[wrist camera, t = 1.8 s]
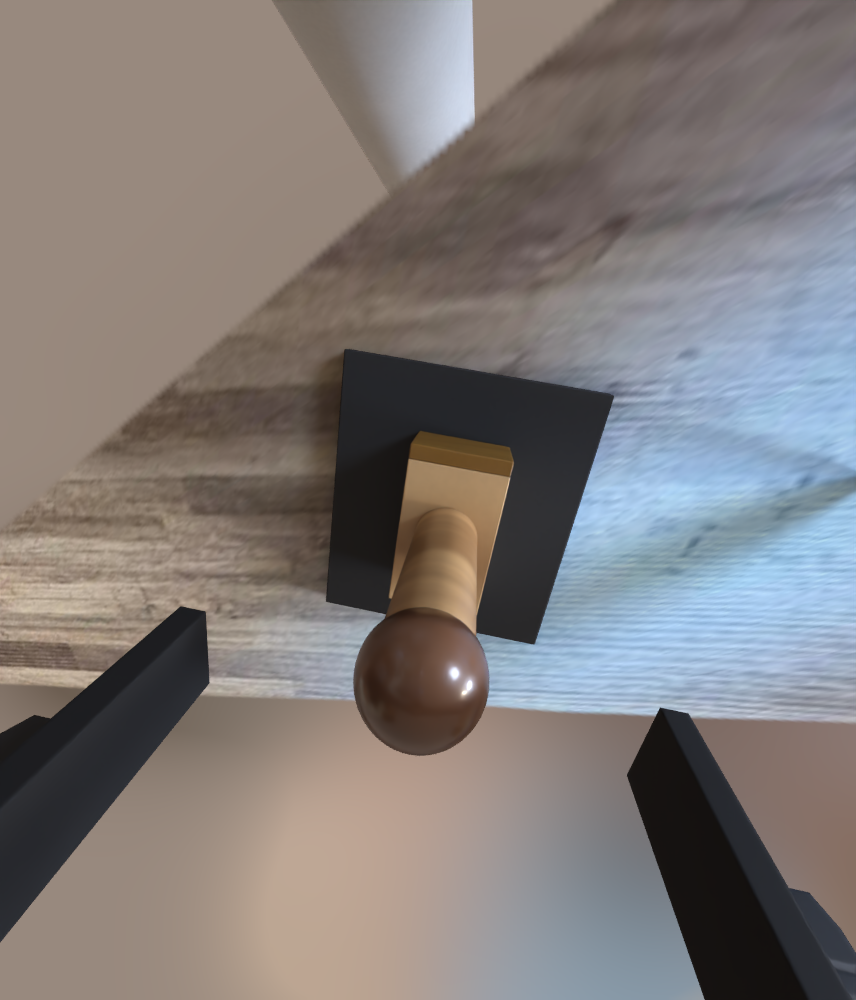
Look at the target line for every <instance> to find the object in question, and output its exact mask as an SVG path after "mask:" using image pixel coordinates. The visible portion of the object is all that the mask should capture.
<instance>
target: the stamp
mask: <svg viewBox="0 0 856 1000" xmlns="http://www.w3.org/2000/svg"><path fill="white" fill-rule="evenodd" d="M513 465H514V461H513V458H512V454H511V451H510V448H509V447H506V446H501V445H495V444H490V443H484V442H478V441H473V440H467V439H462V438H456V437H451V436H445V435H440V434H434V433H429V432H423V431H419V432H418V434H417V435H416V437H415V438H414V440H413V441H412V443H411V444H410V451H409V459H408V465H407V472H406V479H405V486H404V493H403V500H402V507H401V514H400V521H399V528H398V535H397V542H396V549H395V556H394V563H393V570H392V578H391V585H390V592H389V598H391V602H390V605H389V607H388V610H387V613H386V616H385V619H384V620H383V621H381V622H380V623H379V624H378V625H377V626H376V627H375V628H374V629H373V630H372V631H371V632H370V634H369V635H368V636H367V638H366V639H365V641H364V643H363V645H362V647H361V649H360V651H359V654H358V656H357V660H356V663H355V668H354V678H353V685H354V695H355V700H356V704H357V707H358V710H359V712H360V714H361V717H362V719H363V721H364V722H365V724H366V725H367V727H368V728H369V730H370V731H371V732H372V733H373V734H374V735H375V736H376V737H377V738H378V739H379V740H381V742H383V743H384V744H386V745H387V746H389V747H390V748H392V749H394V750H396V751H399V752H402V753H405V754H409V755H417V756H424V755H432V754H436V753H440V752H443V751H446V750H448V749H450V748H452V747H453V746H455V745H456V744H458V743H459V742H461V741H462V740H463V739H464V738H465V737H466V736H467V735H468V734H469V733H470V732H471V731H472V730H473V729H474V727H475V726H476V724H477V723H478V721H479V719H480V718H481V715H482V713H483V711H484V708H485V706H486V702H487V698H488V692H489V670H488V663H487V660H486V657H485V653H484V650H483V648H482V646H481V644H480V642H479V641H478V639H477V637H476V615H477V612H478V608H479V604H480V600H481V596H482V592H483V588H484V584H485V579H486V575H487V571H488V567H489V563H490V559H491V555H492V551H493V547H494V543H495V539H496V535H497V530H498V526H499V522H500V518H501V514H502V510H503V506H504V502H505V498H506V494H507V490H508V486H509V481H510V476H511V473H512V469H513Z"/></svg>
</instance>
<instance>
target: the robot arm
mask: <svg viewBox="0 0 856 1000" xmlns="http://www.w3.org/2000/svg"><path fill="white" fill-rule="evenodd" d="M208 684H209V665H208V646H207V628H206V612H205V611H200V610H196V609H191V608H186V607H179V608H178V609H177V610H176V611H175V612H174V613H173V614H171V615H170V616H169V617H168V618H167V619H166V620H164V621H163V622H162V623H161V624H160V625H159V626H157V627H156V628H155V629H154V630H153V631H152V632H151V633H149V634H148V635H147V636H146V637H145V638H144V639H142V640H141V641H140V642H139V643H138V644H137V645H135V646H134V647H133V648H132V649H131V650H130V651H129V652H127V653H126V654H125V655H124V656H123V657H122V658H120V659H119V660H118V661H117V662H116V663H115V664H113V665H112V666H111V667H110V668H109V669H108V670H107V671H105V672H104V673H103V674H102V675H101V676H100V677H98V678H97V679H96V680H95V681H94V682H93V683H91V684H90V685H89V686H88V687H87V688H86V689H85V690H83V691H82V692H81V693H80V694H79V695H78V696H77V697H75V698H74V699H73V700H72V701H71V702H70V703H68V704H67V705H66V706H65V707H64V708H63V709H61V710H60V711H59V712H58V713H57V714H56V715H54V716H53V717H52V718H51V719H50V718H45V717H41V716H36V715H34V716H32V717H30V718H28V719H26V720H24V721H23V722H21V723H19V724H17V725H15V726H13V727H12V728H10V729H8V730H6V731H4V732H2V733H0V942H1V941H2V940H3V938H4V937H5V936H6V934H7V933H8V932H9V931H10V930H11V928H12V927H13V926H14V925H15V924H16V922H17V921H18V920H19V919H20V917H21V916H22V915H23V914H24V912H25V911H26V910H27V909H28V907H29V906H30V905H31V904H32V902H33V901H34V900H35V899H36V897H37V896H38V895H39V894H40V892H41V891H42V890H43V889H44V888H45V886H46V885H47V884H48V883H49V881H50V880H51V879H52V878H53V876H54V875H55V874H56V873H57V871H58V870H59V869H60V868H61V866H62V865H63V864H64V863H65V861H66V860H67V859H68V858H69V857H70V855H71V854H72V853H73V851H74V850H75V849H76V848H77V847H78V845H79V844H80V843H81V841H82V840H83V839H84V838H85V837H86V835H87V834H88V833H89V832H90V830H91V829H92V828H93V827H94V825H95V824H96V823H97V822H98V820H99V819H100V818H101V817H102V815H103V814H104V813H105V812H106V811H107V809H108V808H109V807H110V806H111V804H112V803H113V802H114V801H115V799H116V798H117V797H118V796H119V794H120V793H121V792H122V791H123V790H124V788H125V787H126V786H127V785H128V783H129V782H130V781H131V780H132V778H133V777H134V776H135V775H136V773H137V772H138V771H139V770H140V768H141V767H142V766H143V765H144V764H145V762H146V761H147V760H148V758H149V757H150V756H151V755H152V753H153V752H154V751H155V750H156V749H157V747H158V746H159V745H160V744H161V742H162V741H163V740H164V739H165V737H166V736H167V735H168V734H169V732H170V731H171V730H172V729H173V728H174V726H175V725H176V724H177V723H178V721H179V720H180V719H181V717H182V716H183V715H184V714H185V713H186V711H187V710H188V709H189V708H190V706H191V705H192V704H193V703H194V701H195V700H196V699H197V698H198V697H199V695H200V694H201V693H202V692H203V690H204V689H205V688H206V687H207V685H208ZM627 777H628V780H629V783H630V786H631V789H632V792H633V794H634V797H635V800H636V803H637V806H638V809H639V812H640V815H641V817H642V820H643V823H644V826H645V829H646V832H647V835H648V838H649V840H650V843H651V846H652V849H653V852H654V855H655V858H656V861H657V864H658V866H659V869H660V872H661V875H662V878H663V881H664V883H665V887H666V890H667V892H668V895H669V898H670V901H671V904H672V907H673V910H674V912H675V915H676V918H677V921H678V924H679V927H680V930H681V933H682V936H683V938H684V941H685V944H686V947H687V950H688V953H689V956H690V959H691V962H692V964H693V967H694V970H695V973H696V976H697V979H698V982H699V985H700V987H701V990H702V993H703V996H704V999H705V1000H856V952H855V951H854V949H853V948H852V946H851V944H850V943H849V941H848V940H847V938H846V937H845V935H844V933H843V932H842V930H841V929H840V928H839V926H838V925H837V924H836V923H835V922H834V921H833V920H832V918H831V917H830V916H829V915H828V914H827V913H826V911H825V910H824V909H823V908H822V907H821V906H820V905H819V903H818V902H817V901H816V900H815V899H814V898H813V897H812V895H811V894H810V893H808V892H804V891H799V890H795V889H791V888H788V886H787V884H786V883H785V881H784V879H783V877H782V876H781V874H780V872H779V870H778V869H777V867H776V866H775V863H774V862H773V860H772V858H771V856H770V855H769V853H768V851H767V850H766V848H765V846H764V844H763V843H762V841H761V839H760V837H759V835H758V834H757V832H756V830H755V829H754V827H753V825H752V824H751V822H750V820H749V818H748V816H747V815H746V813H745V811H744V809H743V808H742V806H741V804H740V802H739V801H738V799H737V797H736V795H735V794H734V792H733V790H732V788H731V787H730V785H729V783H728V782H727V780H726V778H725V777H724V775H723V773H722V771H721V770H720V768H719V766H718V764H717V762H716V761H715V759H714V757H713V756H712V754H711V752H710V750H709V749H708V747H707V745H706V743H705V742H704V740H703V738H702V736H701V735H700V733H699V731H698V729H697V728H696V726H695V724H694V722H693V721H692V719H691V717H690V715H689V714H688V713H683V712H678V711H674V710H669V709H664V708H660V709H659V711H658V713H657V715H656V717H655V719H654V721H653V723H652V725H651V727H650V729H649V732H648V733H647V735H646V737H645V739H644V742H643V744H642V745H641V748H640V750H639V752H638V754H637V756H636V758H635V760H634V762H633V764H632V766H631V768H630V770H629V772H628V774H627Z"/></svg>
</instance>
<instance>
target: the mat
mask: <svg viewBox="0 0 856 1000" xmlns="http://www.w3.org/2000/svg"><path fill="white" fill-rule="evenodd" d="M613 399H614V395H611V394H608V393H602V392H597V391H591V390H585V389H579V388H573V387H567V386H562V385H556V384H550V383H544V382H538V381H532V380H527V379H521V378H515V377H509V376H503V375H497V374H492V373H486V372H480V371H474V370H468V369H462V368H457V367H451V366H445V365H439V364H433V363H427V362H422V361H416V360H410V359H404V358H398V357H392V356H387V355H381V354H375V353H369V352H363V351H357V350H352V349H345V351H344V363H343V377H342V391H341V404H340V418H339V432H338V446H337V459H336V473H335V487H334V500H333V514H332V528H331V541H330V555H329V569H328V583H327V596H326V602H330V603H335V604H340V605H344V606H349V607H354V608H359V609H364V610H369V611H374V612H378V613H383V614H386V613H387V610H388V607H389V605H390V602H391V598H389V592H390V585H391V578H392V570H393V563H394V556H395V549H396V542H397V535H398V528H399V521H400V514H401V507H402V500H403V493H404V486H405V479H406V472H407V465H408V459H409V451H410V444H411V443H412V441H413V440H414V438H415V437H416V435H417V434H418V432H419V431H423V432H429V433H434V434H440V435H445V436H451V437H456V438H462V439H467V440H473V441H478V442H484V443H490V444H495V445H501V446H506V447H509V448H510V451H511V454H512V458H513V461H514V465H513V469H512V473H511V476H510V481H509V486H508V490H507V494H506V498H505V502H504V506H503V510H502V514H501V518H500V522H499V526H498V530H497V535H496V539H495V543H494V547H493V551H492V555H491V559H490V563H489V567H488V571H487V575H486V579H485V584H484V588H483V592H482V596H481V600H480V604H479V608H478V612H477V615H476V633H480V634H485V635H490V636H495V637H500V638H505V639H510V640H514V641H519V642H524V643H529V644H535V642H536V638H537V635H538V632H539V629H540V626H541V623H542V620H543V617H544V614H545V610H546V607H547V604H548V601H549V598H550V595H551V592H552V589H553V586H554V582H555V579H556V576H557V573H558V570H559V567H560V564H561V561H562V558H563V554H564V551H565V548H566V545H567V542H568V539H569V536H570V533H571V530H572V526H573V523H574V520H575V517H576V514H577V511H578V508H579V505H580V501H581V498H582V495H583V492H584V489H585V486H586V483H587V480H588V477H589V473H590V470H591V467H592V464H593V461H594V458H595V455H596V452H597V449H598V445H599V442H600V439H601V436H602V433H603V430H604V427H605V424H606V421H607V417H608V414H609V411H610V408H611V405H612V402H613Z"/></svg>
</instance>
